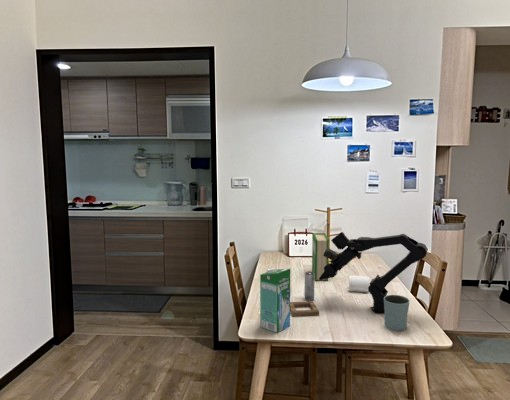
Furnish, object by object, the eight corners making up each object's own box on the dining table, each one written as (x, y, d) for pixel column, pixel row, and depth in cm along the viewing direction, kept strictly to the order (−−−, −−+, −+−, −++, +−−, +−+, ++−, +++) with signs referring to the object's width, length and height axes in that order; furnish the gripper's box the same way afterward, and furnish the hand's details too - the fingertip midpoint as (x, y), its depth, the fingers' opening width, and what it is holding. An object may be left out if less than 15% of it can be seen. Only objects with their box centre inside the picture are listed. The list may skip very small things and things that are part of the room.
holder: (319, 315, 179) (319, 311, 178) (292, 316, 178) (292, 312, 177) (313, 305, 191) (313, 301, 190) (288, 306, 190) (288, 302, 189)
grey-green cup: (402, 321, 172) (403, 294, 171) (412, 331, 162) (413, 303, 161) (379, 321, 172) (380, 294, 171) (387, 332, 162) (388, 303, 161)
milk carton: (273, 320, 174) (273, 264, 171) (290, 325, 169) (290, 268, 166) (260, 327, 167) (259, 269, 164) (277, 333, 162) (277, 273, 159)
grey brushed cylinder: (315, 300, 196) (315, 274, 195) (305, 301, 196) (305, 274, 194) (313, 297, 201) (313, 271, 199) (303, 297, 201) (303, 271, 199)
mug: (369, 294, 205) (369, 279, 204) (349, 293, 207) (349, 278, 206) (367, 286, 216) (368, 272, 215) (349, 285, 219) (349, 271, 218)
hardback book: (328, 281, 225) (328, 239, 222) (314, 281, 226) (315, 239, 223) (324, 271, 243) (324, 233, 240) (311, 271, 243) (312, 233, 240)
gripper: (338, 239, 198) (316, 258, 204) (328, 248, 182) (305, 268, 188) (354, 257, 196) (331, 275, 202) (345, 267, 179) (321, 287, 185)
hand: (322, 276), depth 194 cm, fingers open, 9 cm apart
